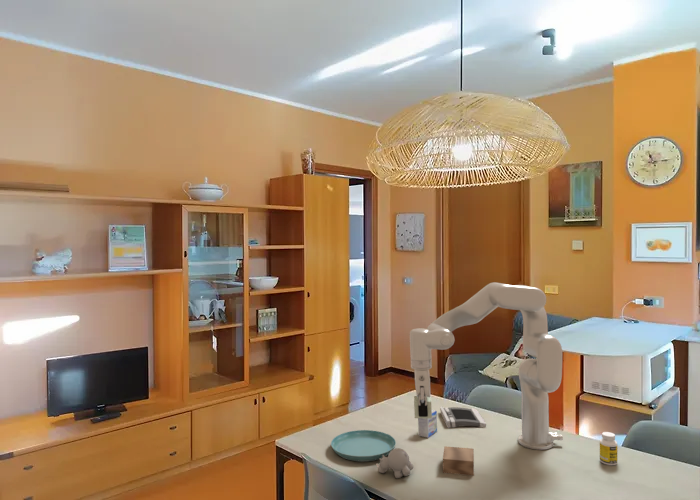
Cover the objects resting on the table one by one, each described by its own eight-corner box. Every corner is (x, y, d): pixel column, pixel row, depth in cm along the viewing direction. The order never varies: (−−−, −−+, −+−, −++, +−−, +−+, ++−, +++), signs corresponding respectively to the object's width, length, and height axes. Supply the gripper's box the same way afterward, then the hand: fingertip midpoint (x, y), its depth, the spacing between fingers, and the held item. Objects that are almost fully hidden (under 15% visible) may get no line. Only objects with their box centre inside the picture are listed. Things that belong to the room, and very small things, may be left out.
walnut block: (473, 462, 173) (473, 448, 173) (473, 476, 163) (473, 461, 163) (444, 460, 175) (444, 446, 175) (443, 473, 166) (442, 458, 166)
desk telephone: (440, 406, 221) (476, 402, 221) (441, 417, 221) (477, 413, 221) (447, 421, 204) (486, 417, 203) (448, 432, 204) (487, 428, 204)
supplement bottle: (610, 467, 166) (610, 438, 166) (596, 461, 171) (595, 433, 171) (621, 463, 169) (620, 435, 169) (606, 457, 174) (606, 429, 173)
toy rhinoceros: (386, 475, 171) (376, 450, 172) (416, 467, 166) (407, 442, 167) (378, 484, 164) (369, 459, 165) (410, 476, 159) (400, 450, 161)
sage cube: (431, 412, 181) (430, 396, 181) (431, 418, 175) (431, 401, 175) (414, 412, 182) (414, 396, 182) (414, 418, 176) (414, 401, 176)
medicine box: (428, 438, 194) (427, 416, 194) (418, 435, 197) (417, 414, 196) (437, 431, 200) (437, 410, 200) (427, 429, 203) (427, 408, 203)
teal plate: (409, 448, 186) (408, 439, 186) (366, 472, 168) (366, 462, 168) (361, 432, 202) (360, 424, 202) (317, 452, 185) (317, 443, 184)
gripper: (432, 370, 169) (434, 422, 170) (431, 357, 186) (433, 404, 187) (410, 370, 170) (412, 422, 171) (411, 357, 187) (413, 404, 188)
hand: (423, 412), depth 179 cm, fingers closed on sage cube, 6 cm apart
